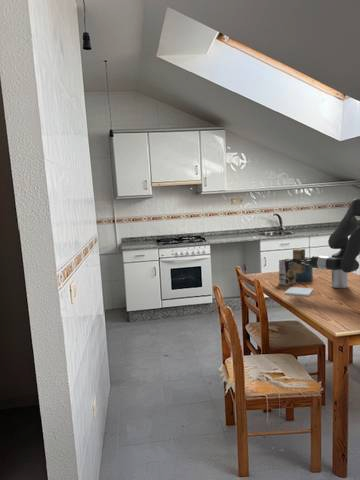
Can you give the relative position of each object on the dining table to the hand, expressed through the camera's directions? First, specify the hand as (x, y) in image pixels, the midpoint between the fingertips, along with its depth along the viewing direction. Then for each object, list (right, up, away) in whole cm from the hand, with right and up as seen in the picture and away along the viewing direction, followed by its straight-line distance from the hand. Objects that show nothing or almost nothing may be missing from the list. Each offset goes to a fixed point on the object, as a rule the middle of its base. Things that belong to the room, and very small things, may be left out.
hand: (295, 259), depth 226 cm
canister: (+15, -16, +32) cm, 39 cm away
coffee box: (+2, -17, +23) cm, 29 cm away
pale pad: (+3, -20, +1) cm, 20 cm away
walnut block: (+2, -8, -1) cm, 8 cm away
